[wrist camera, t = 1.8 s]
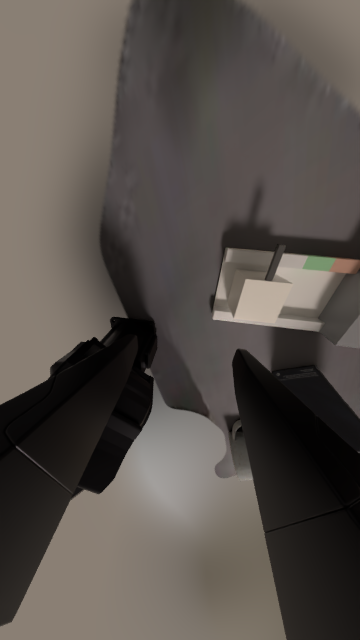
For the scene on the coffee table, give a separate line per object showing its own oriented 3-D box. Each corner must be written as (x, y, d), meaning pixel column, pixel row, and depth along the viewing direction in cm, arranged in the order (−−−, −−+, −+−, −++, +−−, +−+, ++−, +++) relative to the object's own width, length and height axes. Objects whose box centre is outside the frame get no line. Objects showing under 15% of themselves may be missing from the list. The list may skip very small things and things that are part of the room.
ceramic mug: (267, 440, 35) (283, 488, 29) (232, 441, 37) (239, 486, 31) (263, 415, 31) (280, 465, 24) (223, 418, 33) (229, 464, 26)
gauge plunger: (227, 302, 18) (233, 318, 15) (243, 240, 15) (256, 242, 11) (260, 306, 18) (274, 323, 15) (284, 243, 15) (310, 247, 11)
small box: (268, 370, 24) (309, 453, 15) (315, 363, 22) (394, 452, 13) (274, 407, 29) (308, 487, 20) (313, 403, 27) (371, 490, 18)
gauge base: (211, 313, 20) (214, 330, 16) (225, 247, 16) (233, 251, 12) (332, 327, 19) (361, 348, 16) (380, 261, 15) (434, 269, 11)
